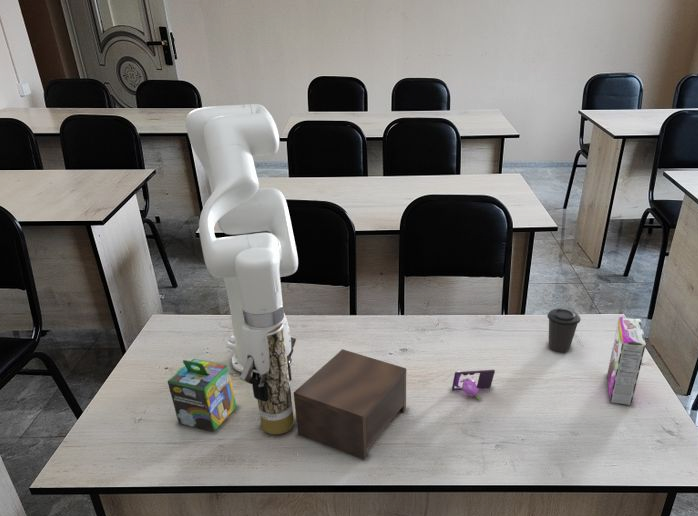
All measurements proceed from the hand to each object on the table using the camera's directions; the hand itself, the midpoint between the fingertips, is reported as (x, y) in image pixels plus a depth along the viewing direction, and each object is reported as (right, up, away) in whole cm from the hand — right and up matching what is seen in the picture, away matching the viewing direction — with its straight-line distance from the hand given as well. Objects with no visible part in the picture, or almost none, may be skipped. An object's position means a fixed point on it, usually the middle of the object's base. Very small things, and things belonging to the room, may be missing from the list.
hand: (273, 388), depth 123 cm
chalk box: (-16, -7, +8) cm, 19 cm away
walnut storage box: (+16, -8, +7) cm, 19 cm away
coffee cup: (+66, +8, +32) cm, 74 cm away
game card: (+42, -3, +15) cm, 45 cm away
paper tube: (0, -8, +5) cm, 10 cm away
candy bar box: (+76, -2, +17) cm, 78 cm away
